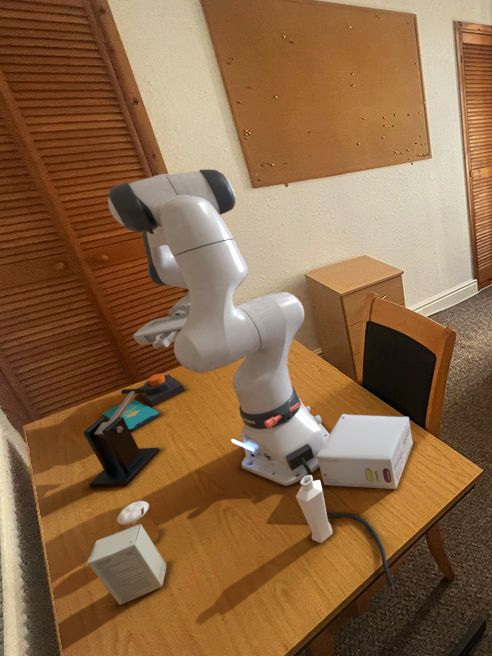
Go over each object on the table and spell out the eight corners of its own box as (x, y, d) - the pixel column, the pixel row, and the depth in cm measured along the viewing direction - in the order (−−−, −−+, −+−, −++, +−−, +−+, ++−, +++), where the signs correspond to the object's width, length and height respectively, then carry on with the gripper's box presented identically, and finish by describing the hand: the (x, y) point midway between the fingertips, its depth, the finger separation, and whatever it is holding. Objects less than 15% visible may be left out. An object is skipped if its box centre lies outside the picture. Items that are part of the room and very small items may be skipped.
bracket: (127, 452, 100) (104, 409, 95) (160, 450, 101) (139, 407, 95) (90, 488, 91) (63, 442, 86) (127, 486, 92) (101, 440, 86)
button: (167, 381, 120) (165, 375, 119) (153, 388, 117) (150, 382, 117) (162, 377, 122) (160, 371, 121) (148, 384, 119) (145, 378, 118)
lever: (127, 392, 100) (121, 386, 98) (150, 391, 100) (144, 385, 98) (93, 439, 91) (85, 434, 89) (118, 438, 91) (111, 433, 89)
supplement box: (323, 486, 91) (314, 456, 87) (348, 441, 103) (341, 412, 99) (396, 490, 90) (390, 459, 86) (413, 443, 102) (409, 415, 98)
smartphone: (132, 397, 118) (160, 412, 112) (133, 399, 118) (161, 414, 112) (100, 413, 112) (129, 430, 106) (102, 416, 112) (130, 432, 106)
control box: (185, 390, 122) (180, 380, 120) (152, 406, 116) (147, 395, 114) (171, 379, 127) (166, 369, 125) (139, 394, 121) (134, 383, 119)
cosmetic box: (167, 565, 76) (143, 521, 71) (162, 588, 72) (136, 544, 67) (124, 582, 73) (96, 539, 68) (116, 607, 69) (86, 563, 65)
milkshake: (149, 554, 77) (129, 519, 74) (127, 549, 78) (106, 514, 75) (172, 531, 82) (154, 497, 78) (151, 526, 83) (132, 492, 79)
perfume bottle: (327, 517, 84) (312, 465, 78) (338, 530, 81) (323, 477, 75) (305, 534, 81) (288, 481, 75) (316, 548, 78) (299, 494, 72)
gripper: (147, 312, 116) (112, 345, 104) (217, 298, 116) (189, 329, 104) (161, 329, 119) (128, 362, 107) (229, 315, 119) (203, 347, 107)
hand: (159, 346), depth 106 cm, fingers closed
